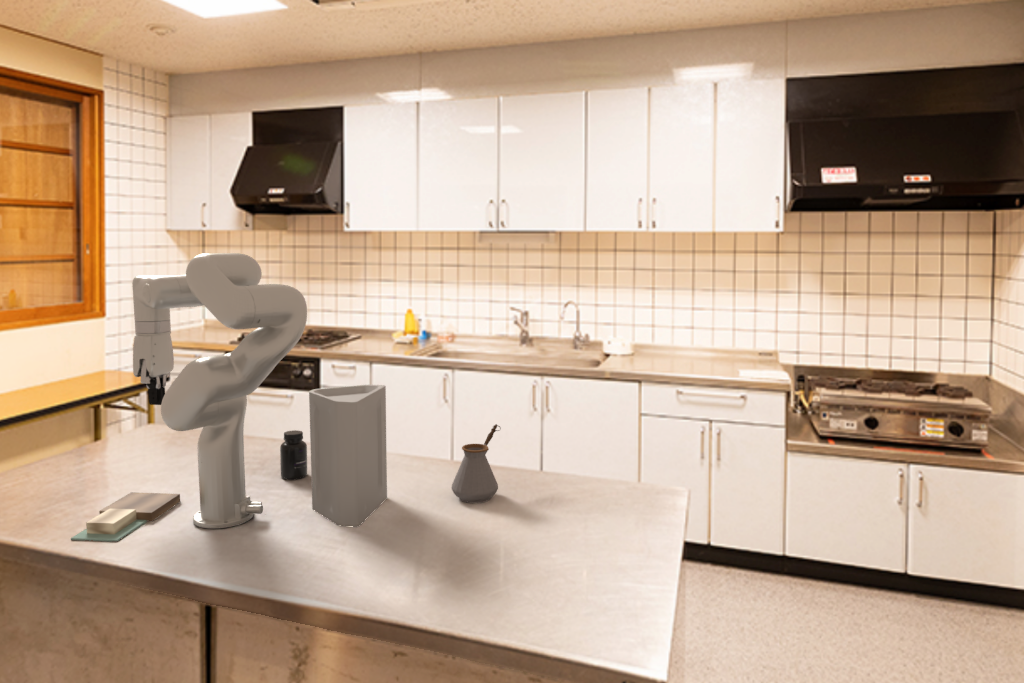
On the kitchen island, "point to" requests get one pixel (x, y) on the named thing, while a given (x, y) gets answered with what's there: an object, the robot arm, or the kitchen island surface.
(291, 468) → the supplement bottle
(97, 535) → the rubber mat
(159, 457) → the kitchen island surface
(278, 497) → the kitchen island surface
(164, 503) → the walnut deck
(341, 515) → the grey triangular vase
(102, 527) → the birch tile
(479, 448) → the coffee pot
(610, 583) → the kitchen island surface
